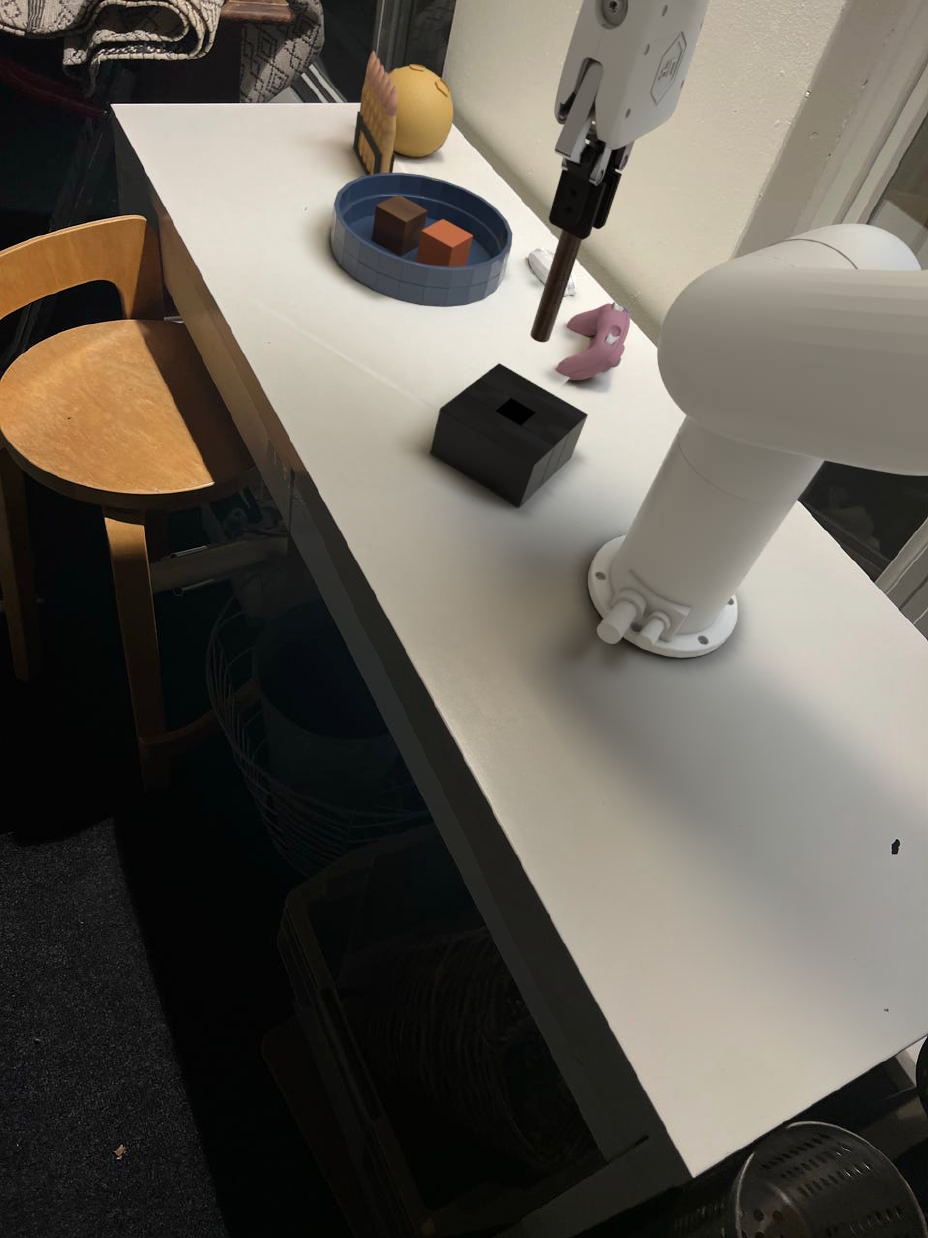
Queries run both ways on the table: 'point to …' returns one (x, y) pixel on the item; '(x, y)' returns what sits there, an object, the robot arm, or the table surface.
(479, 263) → the bowl
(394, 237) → the walnut block
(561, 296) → the stirring stick
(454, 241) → the terracotta block
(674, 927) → the table surface
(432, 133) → the stress ball
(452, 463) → the stick stand
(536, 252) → the white ridged capsule
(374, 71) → the ammunition clip
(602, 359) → the video game controller
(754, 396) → the robot arm
